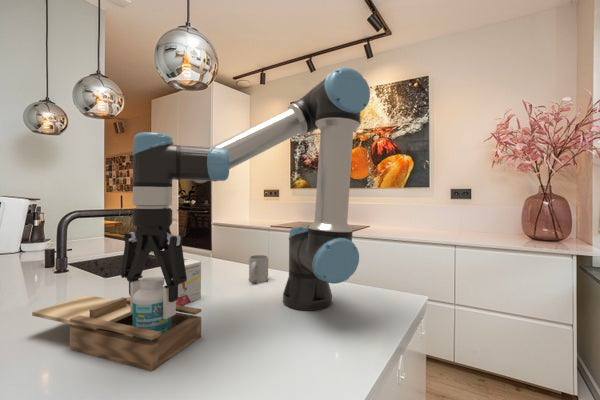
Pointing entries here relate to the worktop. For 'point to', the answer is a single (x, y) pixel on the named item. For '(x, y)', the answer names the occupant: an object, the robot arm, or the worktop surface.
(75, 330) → the box
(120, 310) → the lid
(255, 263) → the cup
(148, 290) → the pill bottle
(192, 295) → the ink box
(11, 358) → the worktop surface
